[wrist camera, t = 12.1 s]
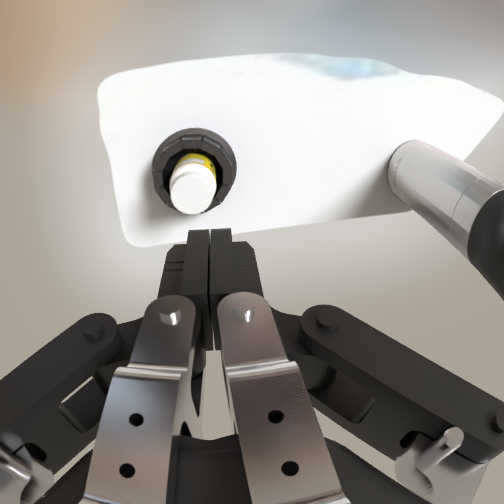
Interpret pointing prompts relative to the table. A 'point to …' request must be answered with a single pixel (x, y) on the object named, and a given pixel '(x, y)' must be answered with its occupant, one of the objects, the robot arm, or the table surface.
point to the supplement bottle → (193, 182)
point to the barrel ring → (194, 142)
